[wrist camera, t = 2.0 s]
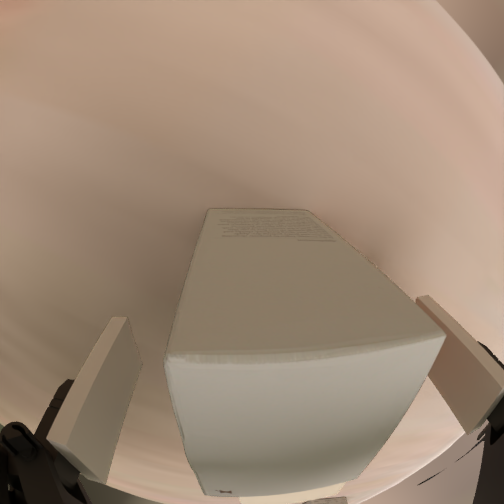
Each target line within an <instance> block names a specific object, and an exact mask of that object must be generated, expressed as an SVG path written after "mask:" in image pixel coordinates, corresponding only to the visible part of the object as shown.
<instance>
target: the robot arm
mask: <svg viewBox="0 0 504 504" xmlns="http://www.w3.org/2000/svg"><path fill="white" fill-rule="evenodd" d="M416 304H417V305H418V306H419V307H420V308H421V309H422V310H423V311H424V312H425V313H426V314H427V315H428V316H429V317H430V318H431V319H432V320H433V321H434V322H435V323H436V324H437V325H438V326H439V327H440V328H441V329H442V330H443V331H444V332H445V333H446V335H447V336H446V338H445V340H444V342H443V344H442V347H441V349H440V351H439V353H438V355H437V357H436V359H435V361H434V363H433V365H432V367H431V369H430V371H429V373H428V377H429V378H430V379H431V381H432V382H433V384H434V385H435V387H436V388H437V389H438V391H439V392H440V394H441V395H442V397H443V398H444V400H445V401H446V403H447V404H448V406H449V407H450V409H451V410H452V412H453V413H454V415H455V416H456V418H457V419H458V421H459V423H460V424H461V426H462V427H463V429H464V431H465V432H466V434H467V435H469V434H471V433H473V432H474V431H476V430H477V429H479V428H480V427H481V426H482V424H483V423H484V422H485V421H486V419H487V420H488V421H489V423H488V425H487V426H486V427H485V428H484V430H483V431H482V432H481V433H480V434H479V435H478V438H477V440H479V439H480V438H481V437H482V436H483V435H484V434H485V436H484V437H483V439H482V440H481V441H485V442H484V451H483V457H482V463H481V469H480V475H479V479H478V485H477V489H476V493H475V497H474V500H473V504H504V365H503V364H502V362H501V361H500V360H499V361H498V358H497V357H496V356H495V355H493V353H492V352H491V351H490V350H489V349H488V348H487V347H486V346H485V345H483V344H482V343H480V342H478V341H476V340H475V339H474V338H473V337H472V336H471V335H470V334H469V333H468V332H467V331H466V330H465V329H464V328H463V327H462V326H461V325H460V324H459V323H458V322H457V321H456V320H455V319H454V318H453V317H452V316H451V315H449V314H448V313H447V312H446V311H445V310H444V309H443V308H442V307H441V306H440V305H439V304H438V303H437V302H435V301H434V300H433V299H432V298H431V297H430V296H429V295H426V296H420V297H417V299H416ZM142 365H143V364H142V361H141V358H140V355H139V352H138V349H137V346H136V343H135V340H134V337H133V334H132V331H131V328H130V324H129V321H128V317H112V318H111V319H110V321H109V323H108V324H107V326H106V328H105V329H104V331H103V332H102V334H101V336H100V337H99V339H98V341H97V342H96V344H95V346H94V347H93V349H92V351H91V353H90V354H89V356H88V358H87V359H86V361H85V363H84V365H83V367H82V368H81V370H80V372H79V374H78V376H77V377H76V379H75V380H70V379H67V380H66V381H65V382H64V383H63V384H62V385H61V386H60V387H59V388H58V390H57V391H56V393H55V395H54V397H53V398H54V399H52V401H51V402H50V404H49V407H48V408H47V410H46V412H45V414H44V416H43V418H42V420H41V422H40V424H39V426H38V428H37V430H36V432H35V434H34V435H33V434H32V432H31V431H30V430H29V429H28V428H27V427H26V426H25V425H24V424H23V423H20V422H11V423H9V424H7V425H6V426H5V427H4V428H3V429H2V431H1V433H0V504H92V502H91V501H90V499H89V497H88V495H87V493H86V491H85V489H84V487H83V485H82V483H81V482H80V480H79V479H78V477H79V473H81V474H82V475H83V476H85V477H86V478H87V479H89V480H92V481H96V482H99V483H103V484H106V482H107V478H108V474H109V470H110V467H111V463H112V459H113V456H114V452H115V448H116V445H117V441H118V438H119V435H120V431H121V428H122V425H123V421H124V418H125V415H126V412H127V409H128V406H129V403H130V400H131V397H132V394H133V391H134V388H135V385H136V382H137V379H138V376H139V373H140V370H141V367H142ZM8 484H9V485H10V490H8Z"/></svg>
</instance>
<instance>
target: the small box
mask: <svg viewBox="0 0 504 504" xmlns="http://www.w3.org/2000/svg"><path fill="white" fill-rule="evenodd" d="M446 336H447V335H446V333H445V332H444V331H443V330H442V329H441V328H440V327H439V326H438V325H437V324H436V323H435V322H434V321H433V320H432V319H431V318H430V317H429V316H428V315H427V314H426V313H425V312H424V311H423V310H422V309H421V308H420V307H419V306H418V305H417V304H416V303H415V302H414V301H413V300H412V299H411V298H410V297H408V296H407V295H406V294H405V293H404V292H403V291H402V290H401V289H400V288H399V287H398V286H397V285H396V284H395V283H393V282H392V281H391V280H390V279H389V278H388V277H387V276H386V275H385V274H383V273H382V272H381V271H380V270H379V269H378V268H376V267H375V266H374V265H373V264H372V263H371V262H370V261H369V260H368V259H366V258H365V257H364V256H363V255H362V254H360V253H359V252H358V251H357V250H356V249H355V248H353V247H352V246H351V245H350V244H349V243H348V242H346V241H345V240H344V239H343V238H342V237H340V236H339V235H338V234H337V233H336V232H334V231H333V230H332V229H331V228H329V227H328V226H327V225H326V224H324V223H323V222H322V221H321V220H319V219H318V218H317V217H315V216H314V215H313V214H312V213H311V212H309V211H307V210H275V209H209V210H208V211H207V214H206V217H205V220H204V224H203V227H202V230H201V233H200V236H199V238H198V241H197V244H196V247H195V250H194V253H193V257H192V260H191V263H190V266H189V269H188V273H187V276H186V279H185V283H184V286H183V289H182V293H181V296H180V299H179V302H178V305H177V309H176V313H175V316H174V320H173V324H172V328H171V332H170V335H169V339H168V343H167V347H166V350H165V354H164V358H163V361H164V370H165V375H166V380H167V385H168V389H169V394H170V398H171V402H172V406H173V410H174V414H175V417H176V420H177V424H178V427H179V431H180V434H181V437H182V441H183V445H184V450H185V454H186V457H187V460H188V462H189V464H190V466H191V468H192V470H193V471H194V473H195V475H196V477H197V480H198V482H199V484H200V486H201V489H202V491H203V493H204V495H208V496H219V497H253V496H268V495H279V494H287V493H295V492H301V491H307V490H312V489H317V488H322V487H327V486H331V485H335V484H339V483H343V482H347V481H350V480H354V479H357V478H358V477H359V476H360V474H361V473H362V472H363V471H364V469H365V468H366V467H367V466H368V465H369V463H370V462H371V461H372V460H373V458H374V457H375V456H376V454H377V453H378V452H379V451H380V449H381V448H382V447H383V445H384V444H385V443H386V441H387V440H388V438H389V437H390V436H391V434H392V433H393V431H394V430H395V428H396V427H397V425H398V424H399V422H400V421H401V419H402V418H403V416H404V415H405V413H406V412H407V410H408V408H409V407H410V405H411V404H412V402H413V400H414V398H415V397H416V395H417V393H418V392H419V390H420V388H421V386H422V384H423V383H424V381H425V379H426V377H427V375H428V373H429V371H430V369H431V367H432V365H433V363H434V361H435V359H436V357H437V355H438V353H439V351H440V349H441V347H442V344H443V342H444V340H445V338H446Z"/></svg>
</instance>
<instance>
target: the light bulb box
mask: <svg viewBox="0 0 504 504" xmlns="http://www.w3.org/2000/svg"><path fill="white" fill-rule="evenodd" d="M304 504H347V500H346V497H340V498H329V499H315V500H310V501H308V502H306V503H304Z"/></svg>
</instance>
